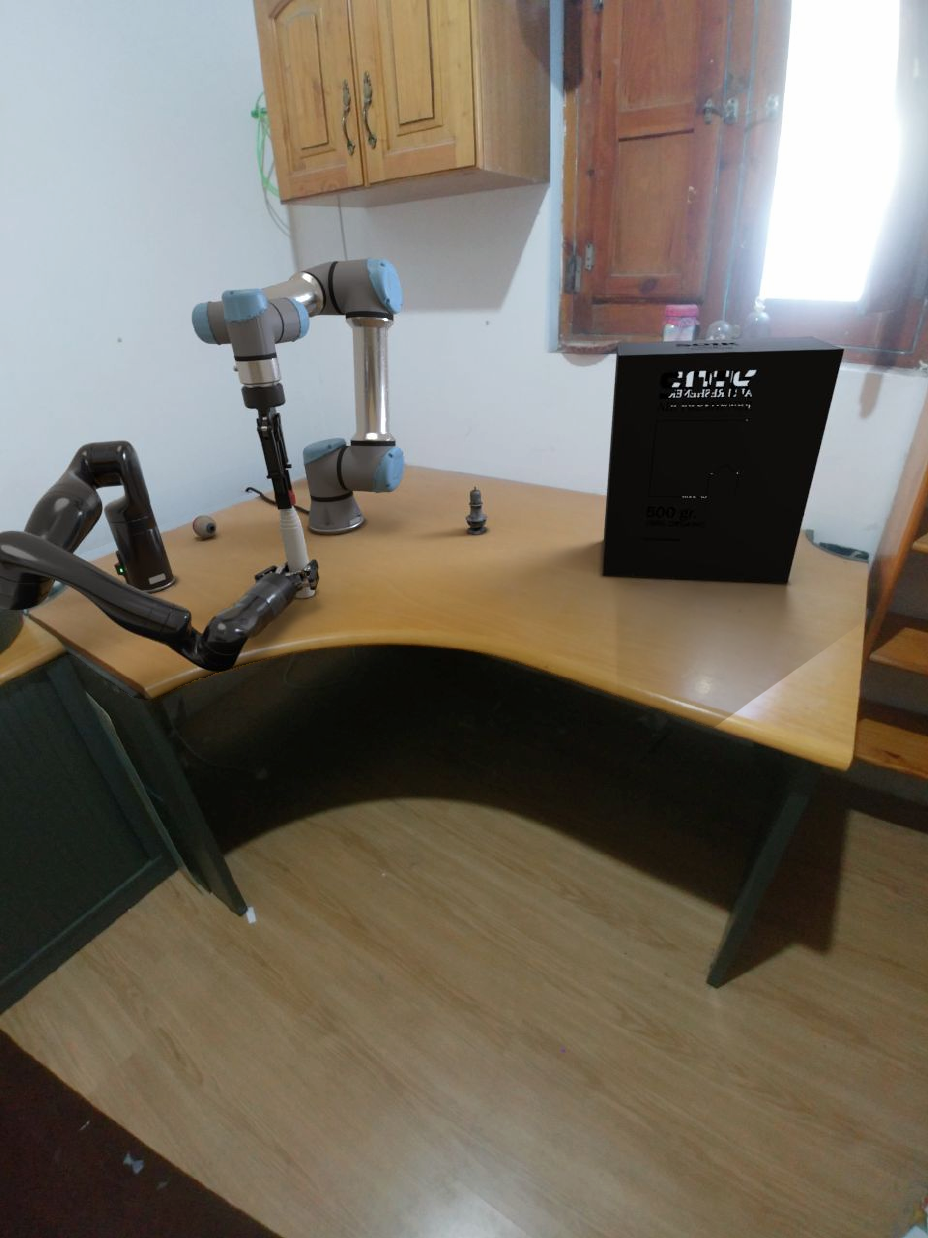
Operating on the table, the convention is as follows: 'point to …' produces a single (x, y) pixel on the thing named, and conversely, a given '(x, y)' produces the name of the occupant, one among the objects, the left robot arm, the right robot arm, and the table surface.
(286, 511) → the bottle
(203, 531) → the eyeball
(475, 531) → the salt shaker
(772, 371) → the cardboard box
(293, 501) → the cap
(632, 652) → the table surface
